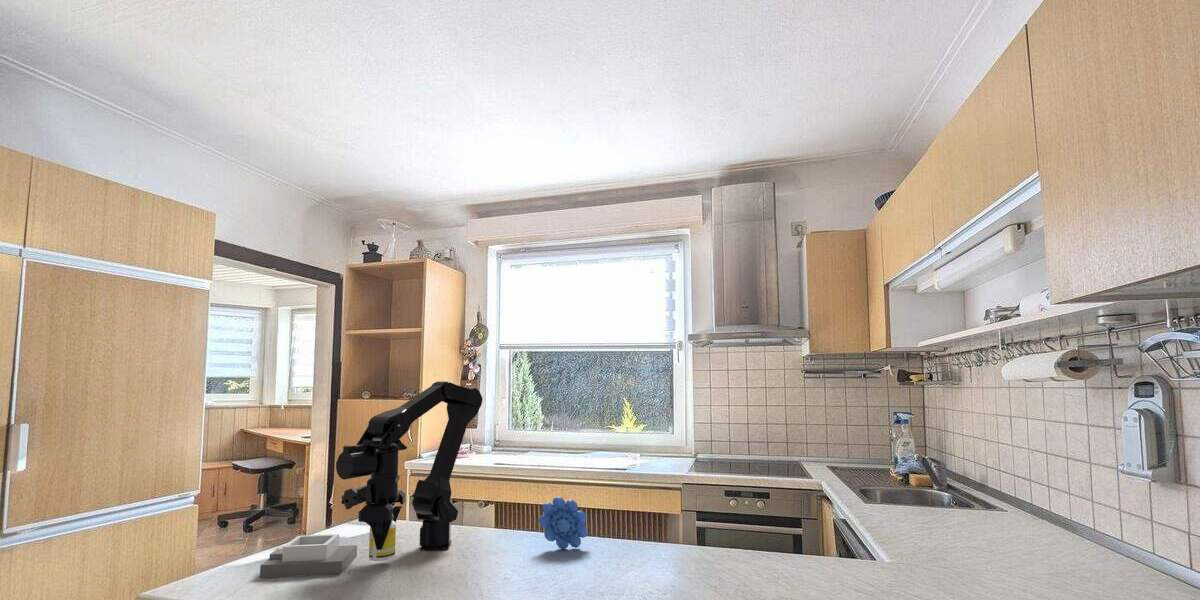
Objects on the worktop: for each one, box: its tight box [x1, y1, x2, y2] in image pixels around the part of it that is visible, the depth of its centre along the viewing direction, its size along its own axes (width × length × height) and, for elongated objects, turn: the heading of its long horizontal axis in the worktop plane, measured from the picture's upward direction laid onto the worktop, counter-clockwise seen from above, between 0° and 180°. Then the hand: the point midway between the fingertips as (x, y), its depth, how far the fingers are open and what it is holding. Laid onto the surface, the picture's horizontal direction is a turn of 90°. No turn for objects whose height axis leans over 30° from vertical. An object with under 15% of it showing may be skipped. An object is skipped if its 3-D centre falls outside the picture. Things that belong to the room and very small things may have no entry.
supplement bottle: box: [368, 515, 397, 562], centre depth 132 cm, size 5×5×10 cm
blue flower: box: [538, 495, 589, 550], centre depth 141 cm, size 12×7×12 cm, turn 92°
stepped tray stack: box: [259, 533, 358, 579], centre depth 131 cm, size 16×12×6 cm
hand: (382, 545), depth 132 cm, fingers closed on supplement bottle, 5 cm apart
